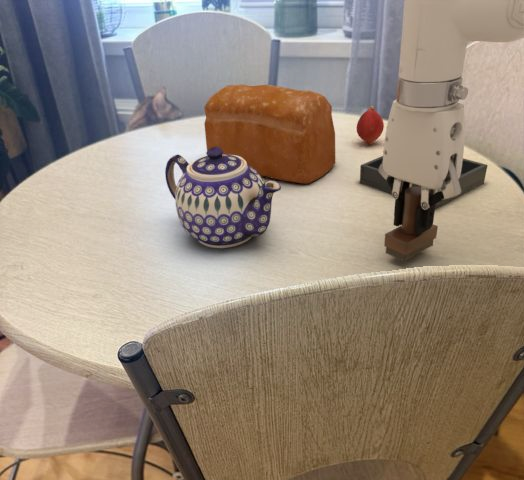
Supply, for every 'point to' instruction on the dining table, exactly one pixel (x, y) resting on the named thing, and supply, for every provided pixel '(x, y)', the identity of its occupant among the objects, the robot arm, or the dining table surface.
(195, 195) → the teapot
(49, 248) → the dining table surface
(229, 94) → the bread
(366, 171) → the tray
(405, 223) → the wooden rubber stamp
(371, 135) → the onion
